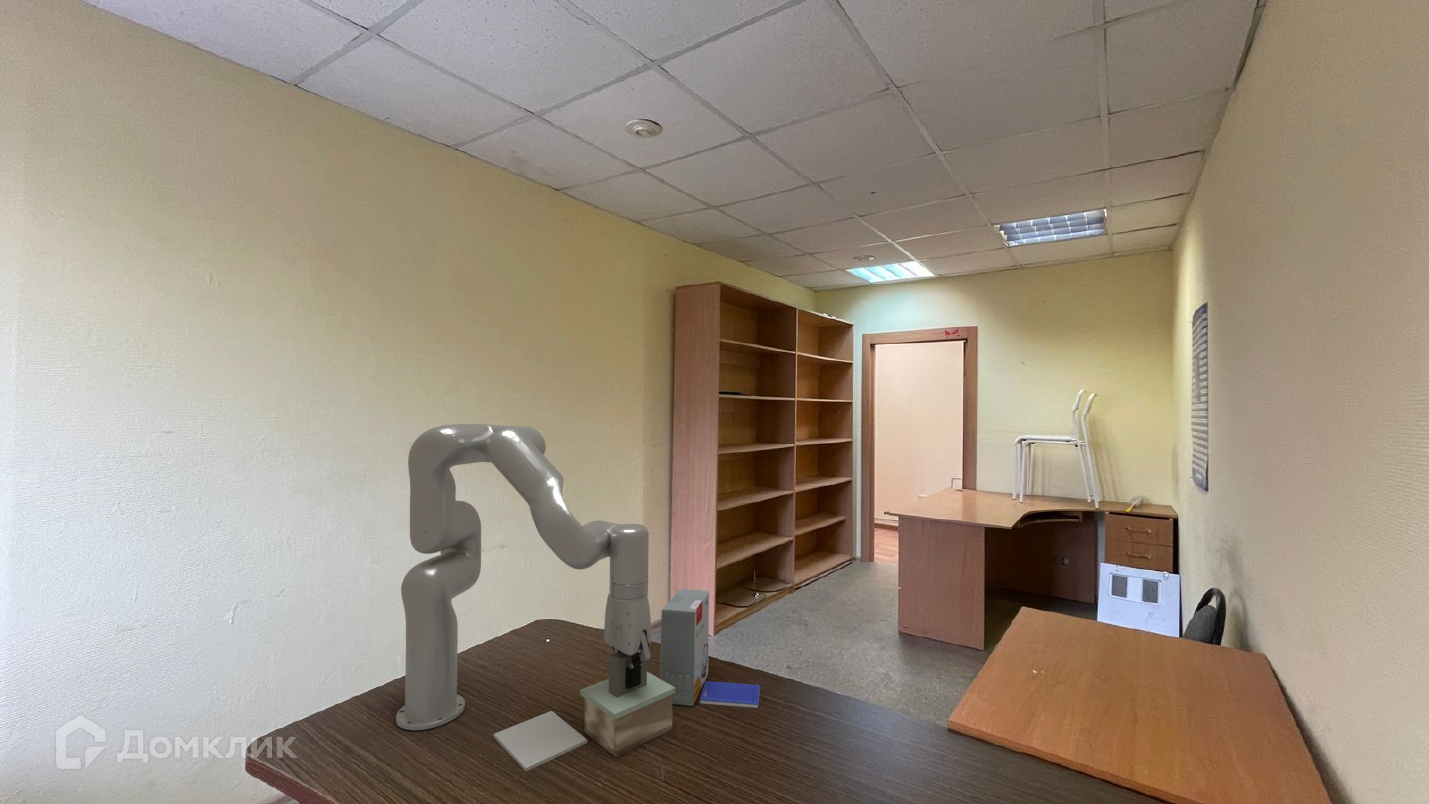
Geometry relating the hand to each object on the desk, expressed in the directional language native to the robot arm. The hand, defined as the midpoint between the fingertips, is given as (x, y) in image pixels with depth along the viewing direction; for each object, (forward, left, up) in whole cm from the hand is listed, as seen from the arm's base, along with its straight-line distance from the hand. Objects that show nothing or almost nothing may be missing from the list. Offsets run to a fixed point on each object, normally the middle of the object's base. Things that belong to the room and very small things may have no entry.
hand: (628, 682), depth 107 cm
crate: (0, 0, -9) cm, 9 cm away
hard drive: (+5, +24, -10) cm, 26 cm away
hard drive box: (-5, +19, -10) cm, 22 cm away
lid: (0, 0, -3) cm, 3 cm away
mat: (-9, -14, -9) cm, 19 cm away
